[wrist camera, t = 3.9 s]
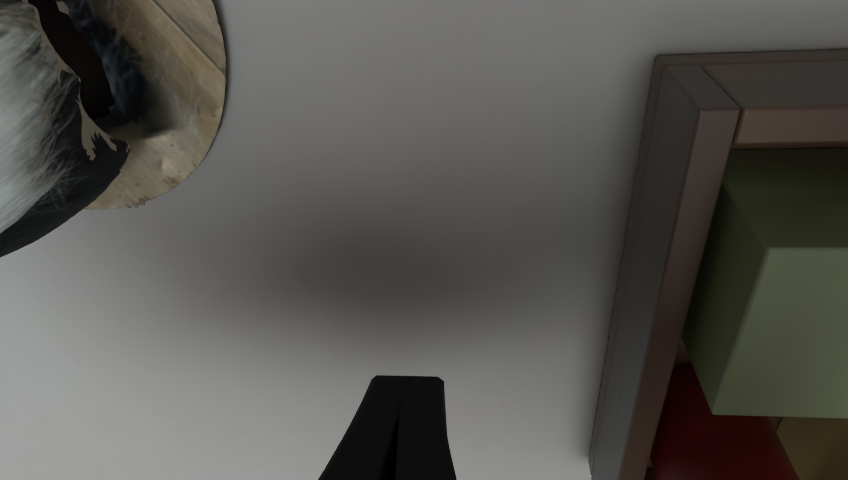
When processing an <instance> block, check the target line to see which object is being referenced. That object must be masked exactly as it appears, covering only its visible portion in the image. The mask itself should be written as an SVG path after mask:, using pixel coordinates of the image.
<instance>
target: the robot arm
mask: <svg viewBox="0 0 848 480" xmlns="http://www.w3.org/2000/svg"><path fill="white" fill-rule="evenodd" d="M318 480H457V479H456V475H455V471H454V467H453V462H452V458H451V454H450V449H449V444H448V438H447V427H446V410H445V393H444V381H443V380H442V379H440V378H439V377H425V376H383V375H377V376H375V377H374V378H373V379H372V380H371V382H370V385H369V387H368V389H367V391H366V394H365V396H364V398H363V400H362V402H361V404H360V406H359V408H358V410H357V412H356V414H355V416H354V418H353V420H352V422H351V424H350V426H349V428H348V429H347V431H346V433H345V435H344V437H343V439H342V440H341V442H340V444H339V445H338V447H337V449H336V451H335V452H334V454H333V456H332V457H331V459H330V461H329V463H328V464H327V466H326V468H325V469H324V471H323V473H322V474H321V476H320V477H319V479H318Z"/></svg>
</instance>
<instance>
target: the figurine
mask: <svg viewBox="0 0 848 480" xmlns="http://www.w3.org/2000/svg"><path fill="white" fill-rule="evenodd" d="M55 1H56V3H57V6H58V8H59V11H61V12H63V13H66V14H68V15H69V17H70V19H71V20H72V22H73V24H74V27H75V29H76V30H77V31H79V32H82V33H84V35H85V37H86V39H87V41H88V43H89V44H90V45H91V46H92V48H93V49H94V50H95V51H96V52H97V53H98V55H99V56H100V57H101V58H102V63H103V68H104V71H105V74H106V76H107V78H108V81H109V84H110V88H111V92H112V96H113V99H114V102H115V105H113V106H110V107H108V108H109V110H110V111H111V113H110V114H109V115H108V116H105V117H101V118H97V119H95V121H94V122H93V121H92V119H90V118H89V116H88V115H87V114H86V112H85V110H84V108H83V106H82V103H81V100H80V86H81V80H80V78H79V77H78V76H77V75H76V74H75V73H74V72H73V70H72V69H71V68H70V67H69V66H68V65H66V64H65V63H64V61H63V60H62V59H61V58H60V56H59V55H58V54H57V53H56V51H55V50H54V48H53V46H52V45H51V43H50V41H49V40H48V38H47V36H46V34H45V32H44V31H43V29H42V27H41V23H40V18H39V13H38V10H37V8H36V7H35V6H33V5H31V4H29V3H28V0H0V257H2V256H4V255H7V254H9V253H11V252H14V251H16V250H18V249H20V248H22V247H24V246H26V245H28V244H31V243H32V242H34V241H36V240H38V239H40V238H41V237H43V236H45V235H46V234H48V233H49V232H51V231H52V230H54V229H55V228H57V227H59V226H60V225H62V224H63V223H64V222H66V221H67V220H68V219H70V218H71V217H73V216H74V215H75V214H77V213H78V212H79V211H81V210H82V209H111V208H120V207H126V206H127V207H129V208H131V207H132V206H131V205H134V207H136V208H137V207H139V204H138V203H140V204H141V205H145V202H144V201H147V200H149V199H153V198H156V197H158V196H160V195H162V194H164V193H166V192H168V191H170V190H171V189H173V188H174V187H176V186H177V185H178V184H180V183H181V182H182V181H183V180H185V179H186V178H187V177H188V176H189V175H190V174H191V173H192V172H193V171H194V170H195V169H196V167H197V166H198V165H199V164H200V162H201V161H202V160H203V158H204V157H205V155H206V154H207V152H208V150H209V148H210V146H211V144H212V142H213V139H214V137H215V135H216V132H217V130H218V127H219V123H220V120H221V115H222V110H223V105H224V96H225V86H226V85H227V82H226V81H225V76H226V73H225V70H226V63H225V61H226V56H225V50H224V42H223V36H222V33H221V29H220V26H219V24H218V19H217V17H218V18H219V16H217V15H216V11H215V8H214V5H213V2H212V0H55Z"/></svg>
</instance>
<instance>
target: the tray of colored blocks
mask: <svg viewBox="0 0 848 480" xmlns="http://www.w3.org/2000/svg"><path fill="white" fill-rule="evenodd" d="M589 466H590V472H591V476H592V478H591V479H592V480H848V50H818V51H787V52H757V53H727V54H696V55H666V56H658V57H656V59H655V64H654V70H653V76H652V82H651V88H650V94H649V100H648V106H647V112H646V118H645V124H644V130H643V136H642V142H641V148H640V154H639V160H638V166H637V172H636V178H635V184H634V190H633V196H632V202H631V208H630V214H629V220H628V226H627V232H626V238H625V244H624V250H623V256H622V262H621V268H620V274H619V280H618V286H617V292H616V298H615V304H614V310H613V316H612V322H611V328H610V334H609V340H608V346H607V352H606V358H605V364H604V371H603V377H602V383H601V389H600V395H599V401H598V407H597V413H596V419H595V425H594V431H593V437H592V443H591V449H590V455H589Z"/></svg>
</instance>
